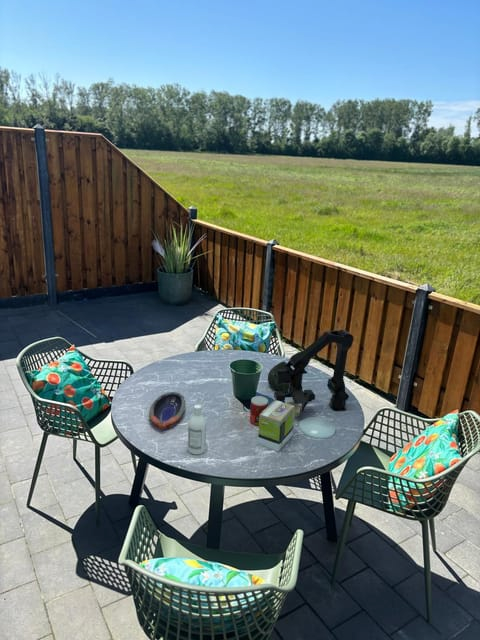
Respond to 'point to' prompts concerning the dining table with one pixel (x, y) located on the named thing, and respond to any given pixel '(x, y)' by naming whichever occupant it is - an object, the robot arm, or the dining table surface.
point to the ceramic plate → (317, 428)
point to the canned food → (257, 408)
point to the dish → (167, 410)
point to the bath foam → (197, 432)
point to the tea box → (276, 425)
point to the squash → (271, 380)
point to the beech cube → (297, 408)
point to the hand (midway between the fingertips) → (292, 411)
